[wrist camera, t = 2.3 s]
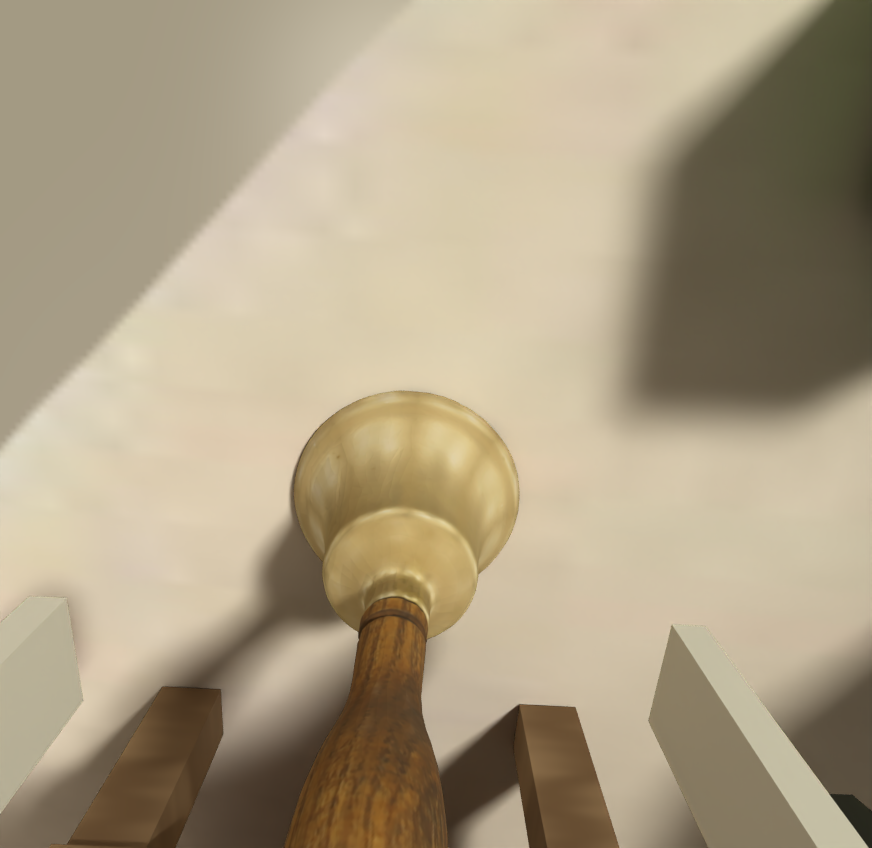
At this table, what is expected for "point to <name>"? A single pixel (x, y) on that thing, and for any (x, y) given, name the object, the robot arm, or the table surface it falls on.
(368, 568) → the hand bell
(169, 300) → the table surface
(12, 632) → the robot arm
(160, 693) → the walnut stool
